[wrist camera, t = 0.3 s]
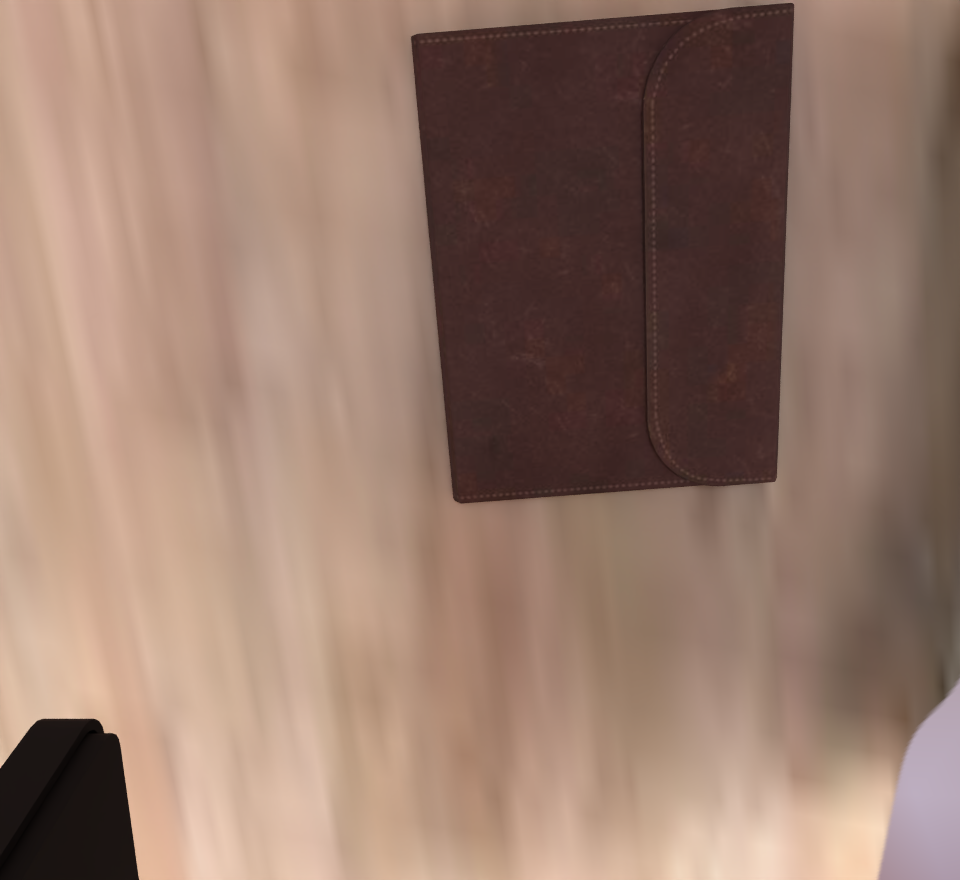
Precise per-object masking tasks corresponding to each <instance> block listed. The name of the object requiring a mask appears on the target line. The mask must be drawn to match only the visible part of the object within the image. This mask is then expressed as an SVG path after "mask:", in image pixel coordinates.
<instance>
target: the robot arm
mask: <svg viewBox="0 0 960 880" xmlns="http://www.w3.org/2000/svg"><path fill="white" fill-rule="evenodd" d="M0 880H139V877H138V870H137V863H136V856H135V848H134V841H133V834H132V827H131V819H130V812H129V805H128V798H127V790H126V783H125V776H124V769H123V762H122V754H121V747H120V742H119V739H118V737H117V735H116V734H113V733H104V731H103V727H102V725H101V723H100V722H99V721H98V720H96V719H41V720H38V721H36V723H35V724H34V725H33V726H32V727H31V728H30V729H29V730H28V732H27V733H26V734H25V736H24V737H23V738H22V740H21V741H20V743H19V744H18V745H17V747H16V748H15V749H14V751H13V752H12V753H11V755H10V756H9V757H8V759H7V760H6V761H5V763H4V764H3V765H2V767H1V768H0Z"/></svg>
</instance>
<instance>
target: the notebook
mask: <svg viewBox="0 0 960 880" xmlns="http://www.w3.org/2000/svg"><path fill="white" fill-rule="evenodd" d="M793 25H794V4H793V3H785V4H772V5H760V6H747V7H735V8H726V9H720V10H708V11H696V12H683V13H671V14H659V15H646V16H634V17H621V18H609V19H597V20H584V21H572V22H559V23H547V24H535V25H522V26H510V27H497V28H485V29H473V30H460V31H448V32H435V33H423V34H416V35H414V36H412V37H411V42H412V52H413V63H414V74H415V85H416V96H417V107H418V118H419V129H420V139H421V150H422V161H423V172H424V183H425V194H426V205H427V216H428V226H429V237H430V248H431V259H432V270H433V281H434V292H435V303H436V314H437V324H438V335H439V346H440V357H441V368H442V379H443V390H444V401H445V411H446V422H447V433H448V444H449V455H450V466H451V477H452V488H453V498H454V500H455V501H457V502H459V503H472V502H485V501H499V500H512V499H525V498H538V497H551V496H565V495H578V494H591V493H604V492H618V491H631V490H644V489H657V488H670V487H684V486H697V485H709V486H728V485H740V484H753V483H765V482H775V481H776V478H777V457H778V430H779V403H780V376H781V349H782V322H783V295H784V268H785V241H786V214H787V187H788V160H789V133H790V106H791V79H792V52H793Z"/></svg>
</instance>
